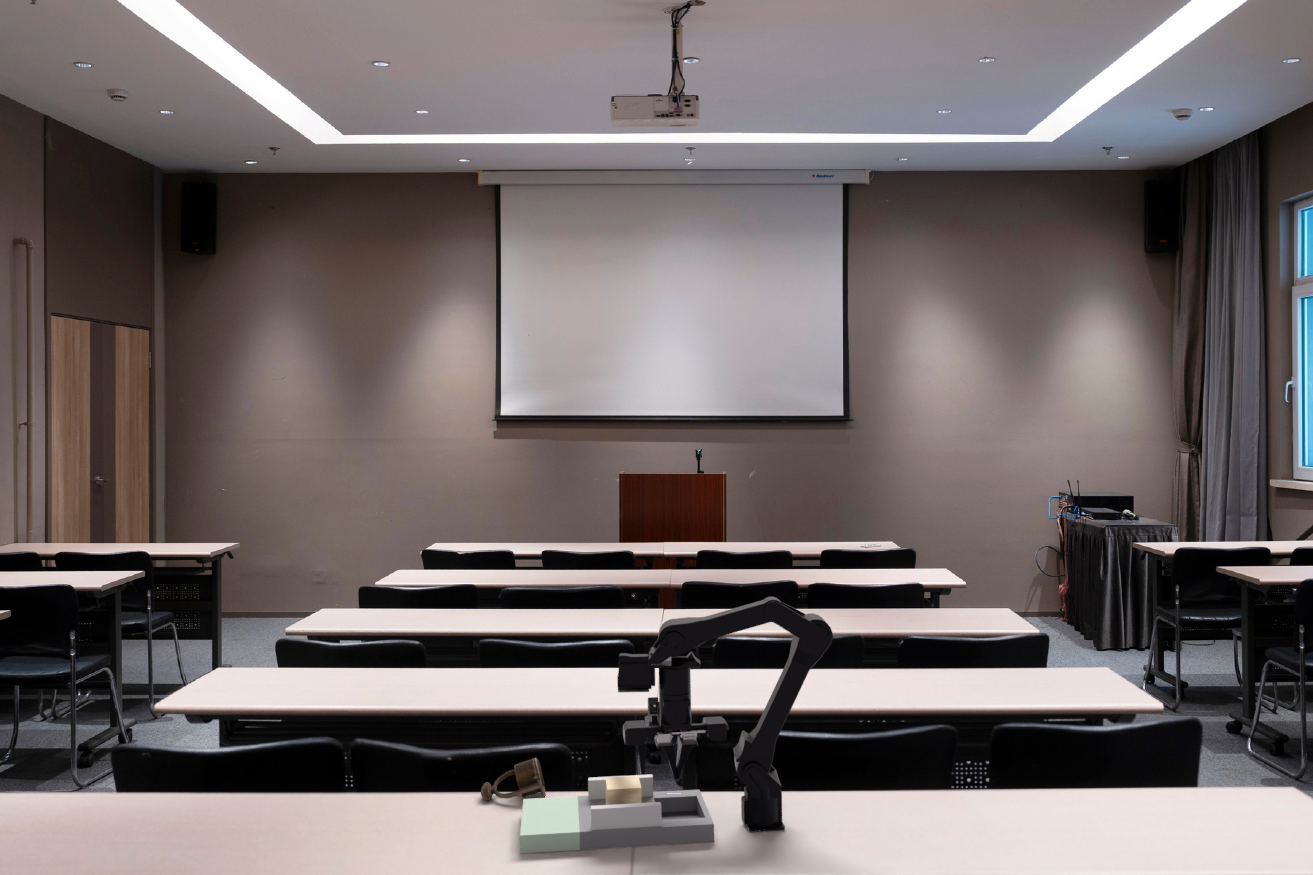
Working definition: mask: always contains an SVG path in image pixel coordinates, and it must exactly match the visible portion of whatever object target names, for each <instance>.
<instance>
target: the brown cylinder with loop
mask: <svg viewBox="0 0 1313 875" xmlns="http://www.w3.org/2000/svg"><path fill="white" fill-rule="evenodd" d="M513 768H514V769H511V770H508V771H506V772H505V773H503V774H501V775H500V776H499V777H498V778H497V779H496V780H495V781H494V783H493V785H491V783H490V782H488V781H487V782H485V783H483V785H482V786H481V789H480V796H481V797H482V800H484V801H485V802H491V801H492V799H493V795H495V796H496V797H497V798H499V799H511V798H512V799H513V798H515V797H518V796H521V798H526V796H527V797H529V795H530V796H532V795H535V794H537V793H541V796H542V797H543V796H544V797H545V796H546V797H547V795H546V794H547V793H546V788H545V787H546V786H545V781H544V780H545V779H544V776H543V771H542V766H541V763H540V760H539V759H538V758H537V757H533V758H531V759H527V760H524V761H522V762H519V763H517V764H515V765H514V766H513ZM513 775H515V778H516V782H517V787H518V789H517V790H514V791H512V792H507V793H502V792H499V791H498V790H497V788H498V785H500V783H501V782H502V781H503V780H505V779H506V778H508V777H510V776H513ZM546 797H545V798H546Z"/></svg>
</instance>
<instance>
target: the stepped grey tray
mask: <svg viewBox="0 0 1313 875" xmlns="http://www.w3.org/2000/svg"><path fill="white" fill-rule="evenodd" d="M622 776H623V775H611V776H610V775H609V777H622ZM629 776H639V780H640V784H641V797H642V803H634V804H616V805H606V779H605V777H606V776H597V777H595V776H594V777H588V779H587V783H588V784H587V785H588V786H587V790H588V791H587V792H588V793H587V795H574V796H573V795H572V796H558V797H557V796H555V797H554V796H553V797H545V798H543V797H539V798H536V797H535V798H533V797H532V798H523V800H522V810H521V819H520V829H519V830H520V831H519V854H520V855H521V854H532V853H534V854H537V853H551V852H552V853H553V852H568V851H582V850H584V851H585V850H601V849H616V848H618V849H621V848H634V847H635V848H637V847H649V846H665V845H667V846H669V845H681V844H682V845H683V844H684V845H685V844H687V845H688V844H700V843H701V844H702V843H715V824H714V820H713V819H712V816H711V814H710V812H709V809H708V807H707V804H706V802H705V798H704V797H703V795H702V792H701V790H700V789H682V790H668V791H667V790H666V791H665V790H664V791H654V775H653V774H652V773H651V774H635V775H633V774H632V775H629ZM667 793H681V794H667Z"/></svg>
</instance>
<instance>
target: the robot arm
mask: <svg viewBox="0 0 1313 875" xmlns="http://www.w3.org/2000/svg"><path fill="white" fill-rule="evenodd" d="M769 623H773V624H775V625H777V626H779V627H780V628H782V629H783V630H785V631H786V632H788V633H790V634H791V635H792V637H791V643H790V649H789V654H788V658H787V660H786V663H785V665H784V668H783V669H782V671H781V673H780V676H779V678H778V680H777V682H776V684H775V686H774V688H773V689H772V692H771V695H770V696H769V699H768V701H767V703H766V705H765V708H764V709H763V712H762V714H761V716H760V718H759V720H758V722H757V724H756V726H755V728H754V729H753V730H751V731H750V732H749V733H748V732H747V731H745V730H742V731H741V733H740V737H739V740H738V743H737V744H736V745H735V746H734V747H733V749H732V750H733V753H734V754H733V755H734V757H733V758H734V759H733V760H734V766H735V771H736V775H737V778H738V780H739V781H740V782H741V783H742V784H743V785H744V787H743V792H744V793H743V795H741V797H740V798H741V800H740V802H741V804H740V806H741V807H740V808H741V810H740V812H741V820H742V822H743V824H744V825H745V826H746V828H747V830H748V831H749V832H764V831H784V830H786V825H785V824H784V822H783V791H782V789H783V788H782V783H781V782H780V779H779V776H778V775H779V774H778V773H777V769H776V768H775V767H774V766H773V765H772V764H773V761H774V756H775V750H776V745H777V740H778V738H779V736H780V733H781V731H782V730H783V727H784V725H785V723H786V720H787V719H788V716H789V715H790V712H791V710H792V709H793V706H794V704H795V702H796V700H797V698H798V695H799V694H800V693H799V692H800V691H801V688H802V686H803V684H804V683H805V680H806V678H807V676H808V674H809V672H810V671H811V670H812V668H813V667H814V666H815V665H816V664H817V662H819V661H820V659H822V657H823V656H824V654H826V651H828V649H829V647H830V646H831V645H832V642H833V638H834V633H833V630H832V627H831V626H830V625H829V624H828V622H827V620H825V619H824V618H823V617H822V616H820V615H819V614H816V613H804V612H803V611H800V610H799V609H797V608H795V607H793V606H792V605H791V606H790V605H789V604H786V603H785V602H782V601H781V600H780V599H778V598H777V596H776V597H775V596H767V597H765V598H764V599H761V600H758V601H754V602H751V603H748V604H744V605H741V606H737V607H734V608H730V609H727V610H724V611H720V612H717V613H712V614H710V615H706V616H700V617H697V616H695V617H691V616H690V617H689V616H688V617H678V618H671V619H667V620H666V621H664V622H663V623H662V624H661V626H660V627H659V630H658V633H657V634H658V635H657V637H658V638H657V640H656V641H655V642H654V644H653V645H652V646H651V647H650V650H649V651H648V653H637V654H636V653H633V654H632V653H627V652H624V653H623V652H621V653H619V655H618V672H617V692H618V693H649V692H650V690H652V689H653V688H652V687H655V686H656V669H658V695H659V696H658V697H657V696H655V697H652V696H651V697H647V714H648V716H657V723H658V724H659V725H646V722H645V720H644V719H642V720H626V721H625V722H624V723H623V724H622V736H623V741H624V745H625V746H643V745H644V744H646V743H647V741H648V738H654V742H655V745H656V748H657V749H660V750H661V749H662V750H663V751H664V753H665V755H666V757H667V760H668V764H669V767H670V769H671V771H672V776H673V778H674V780H680V778H681V775H682V772H683V771H684V770H683V769H684V766H685V763H686V761H687V759H688V757H689V755H690V753H691V751H692V749H693V748H694V747H698V746H699V743H698V740H697V738H698V735H699V736H700V735H707V737H708V739H710V740H711V741H712V742H719V741H721V742H722V741H728V740H730V727H729V724H728V723H727V720H725V718H723V716H721V715H719V716H718V715H717V716H704V717H703V718H702V722H701V723H692V696H691V695H692V692H691V691H692V690H691V688H692V686H691V669H692V668H693V669H695V668H696V669H697V668H698V669H699V668H701V660H700V659H699V658H698V657H696V655H695V654H694V652H693V650H695V649H697V648H698V647H700V646H702V645H704V644H705V643H706V642H708V641H711V640H713V639H716V638H720V637H724V636H727V635H730V634H734V633H737V632H741V631H744V630H747V629H751V628H755V627H757V626H762V625H765V624H769ZM687 653H688V654H687ZM686 654H687V655H686ZM683 655H686V656H683ZM669 658H671V659H670V660H668V659H669ZM675 736H676V737H677V751H676V753H675V745H674V742H673V740H672V738H673V737H675Z"/></svg>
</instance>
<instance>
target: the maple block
mask: <svg viewBox="0 0 1313 875" xmlns="http://www.w3.org/2000/svg"><path fill="white" fill-rule="evenodd" d="M621 776H622V777H610V776H604V777H605V779H606V805H616V804H634V803H642V797H641V784H640V780H639V776H630V775H621Z"/></svg>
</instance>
